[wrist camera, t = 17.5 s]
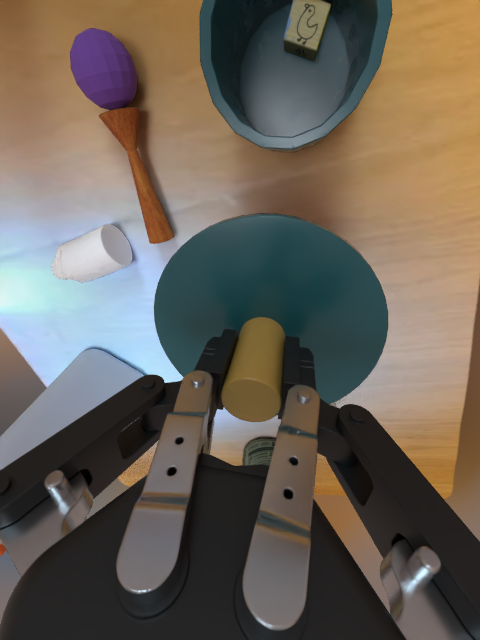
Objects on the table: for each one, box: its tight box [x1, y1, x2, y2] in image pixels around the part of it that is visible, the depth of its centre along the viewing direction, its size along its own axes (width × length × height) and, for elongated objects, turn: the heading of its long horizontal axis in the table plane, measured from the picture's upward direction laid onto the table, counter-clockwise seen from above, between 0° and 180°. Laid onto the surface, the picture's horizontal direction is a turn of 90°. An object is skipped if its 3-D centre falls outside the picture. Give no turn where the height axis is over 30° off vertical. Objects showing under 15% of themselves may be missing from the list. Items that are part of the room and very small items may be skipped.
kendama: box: [70, 28, 174, 244], centre depth 31 cm, size 6×6×20 cm
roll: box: [52, 224, 132, 282], centre depth 39 cm, size 6×12×6 cm, turn 112°
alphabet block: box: [283, 0, 331, 61], centre depth 24 cm, size 3×3×3 cm
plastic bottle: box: [0, 349, 144, 556], centre depth 44 cm, size 15×15×28 cm
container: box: [200, 0, 392, 152], centre depth 23 cm, size 12×12×12 cm
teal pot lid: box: [154, 213, 388, 422], centre depth 14 cm, size 13×13×6 cm
